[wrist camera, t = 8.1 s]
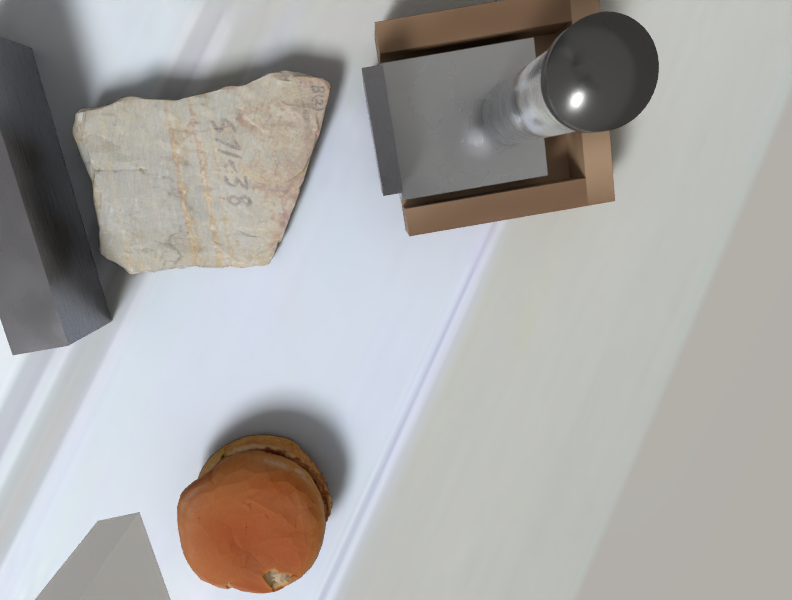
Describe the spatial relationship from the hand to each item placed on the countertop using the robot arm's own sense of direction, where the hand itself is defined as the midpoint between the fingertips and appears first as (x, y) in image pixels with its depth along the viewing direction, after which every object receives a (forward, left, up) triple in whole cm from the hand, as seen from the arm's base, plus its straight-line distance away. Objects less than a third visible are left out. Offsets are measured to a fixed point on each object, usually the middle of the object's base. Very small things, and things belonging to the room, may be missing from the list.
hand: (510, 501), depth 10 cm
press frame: (-8, +5, -25) cm, 27 cm away
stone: (-8, -12, -26) cm, 30 cm away
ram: (-8, +4, -24) cm, 26 cm away
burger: (+14, -13, -26) cm, 32 cm away
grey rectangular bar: (-8, -21, -25) cm, 34 cm away
